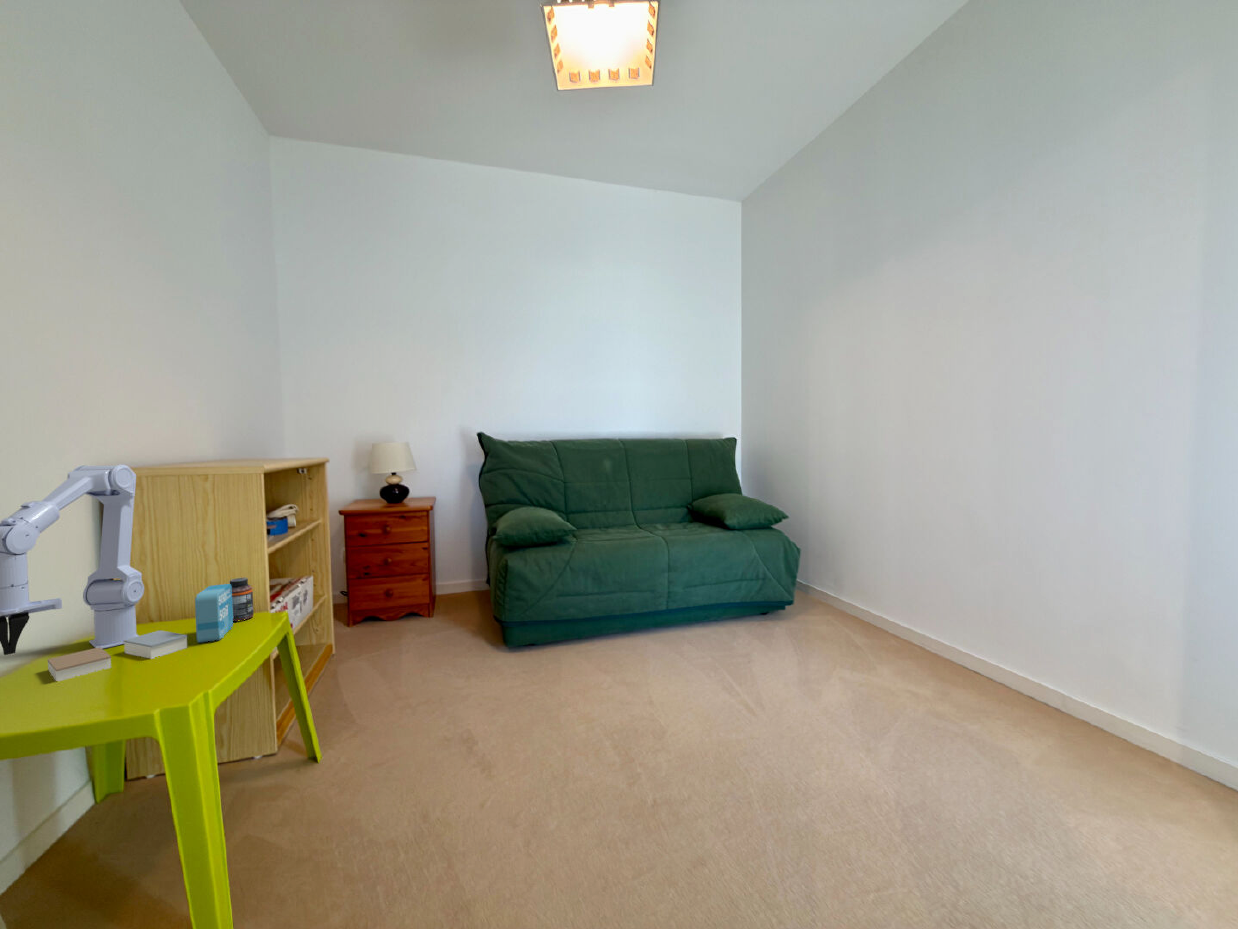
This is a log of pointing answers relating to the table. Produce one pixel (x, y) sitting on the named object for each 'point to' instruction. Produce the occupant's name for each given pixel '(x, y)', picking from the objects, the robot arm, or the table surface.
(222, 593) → the blue box
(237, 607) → the supplement bottle
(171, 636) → the book grey
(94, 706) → the table surface
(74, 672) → the book walnut
